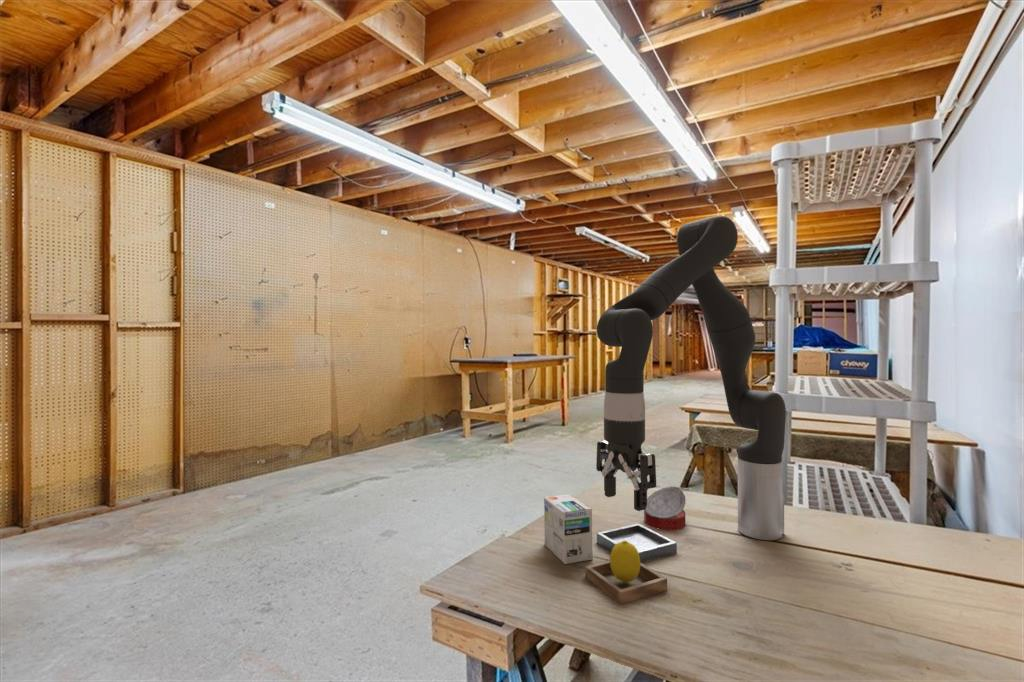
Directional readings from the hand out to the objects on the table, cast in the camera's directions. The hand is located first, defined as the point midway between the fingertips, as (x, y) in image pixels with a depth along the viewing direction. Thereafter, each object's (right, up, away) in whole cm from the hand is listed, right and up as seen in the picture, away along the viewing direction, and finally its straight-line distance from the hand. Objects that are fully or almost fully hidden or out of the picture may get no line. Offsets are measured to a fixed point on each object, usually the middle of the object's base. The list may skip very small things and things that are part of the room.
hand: (624, 502), depth 90 cm
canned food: (+17, -15, +30) cm, 37 cm away
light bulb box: (-9, -15, +14) cm, 22 cm away
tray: (+6, -15, +15) cm, 22 cm away
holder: (0, -15, 0) cm, 15 cm away
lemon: (0, -15, 0) cm, 15 cm away
